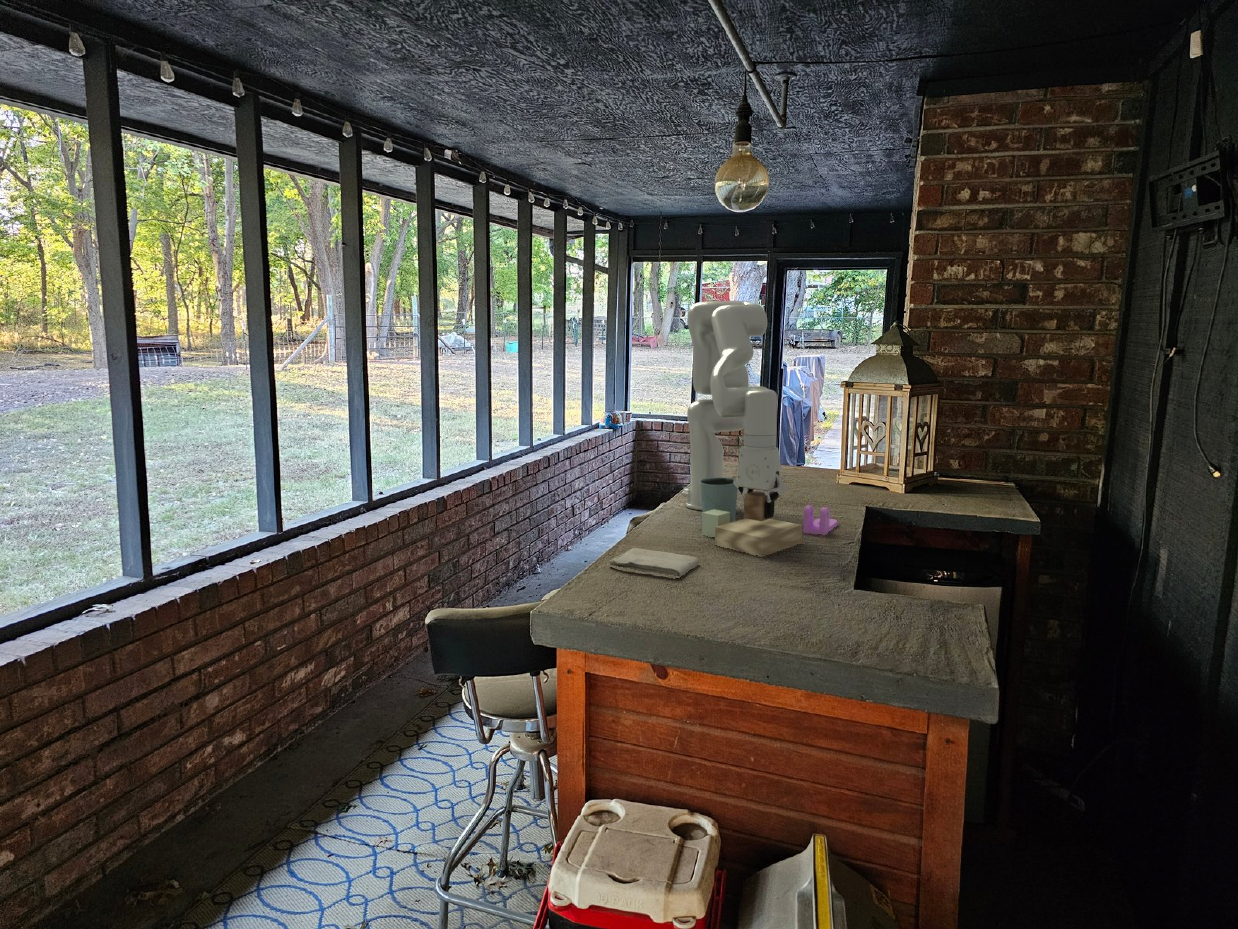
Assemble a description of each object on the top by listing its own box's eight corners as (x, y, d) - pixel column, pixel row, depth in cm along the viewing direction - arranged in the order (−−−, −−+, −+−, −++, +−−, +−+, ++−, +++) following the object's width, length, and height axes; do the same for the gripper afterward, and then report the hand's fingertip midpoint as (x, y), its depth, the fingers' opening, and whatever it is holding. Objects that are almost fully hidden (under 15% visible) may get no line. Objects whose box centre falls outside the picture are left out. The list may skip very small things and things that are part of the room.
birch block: (715, 547, 189) (715, 527, 188) (755, 534, 199) (755, 515, 199) (762, 558, 179) (762, 537, 178) (801, 544, 189) (802, 525, 189)
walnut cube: (744, 518, 188) (744, 493, 187) (756, 514, 191) (756, 490, 190) (761, 521, 184) (761, 496, 183) (773, 517, 188) (773, 493, 187)
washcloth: (630, 557, 182) (629, 544, 181) (701, 566, 174) (701, 553, 173) (605, 571, 171) (605, 557, 171) (680, 582, 163) (680, 568, 163)
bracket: (824, 536, 196) (825, 509, 195) (803, 533, 199) (803, 506, 198) (839, 524, 207) (840, 499, 206) (818, 522, 210) (819, 497, 209)
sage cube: (702, 535, 198) (702, 512, 197) (714, 531, 201) (714, 509, 200) (717, 539, 195) (717, 515, 193) (729, 535, 198) (729, 512, 197)
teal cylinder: (742, 521, 211) (742, 478, 209) (731, 530, 202) (731, 485, 200) (706, 518, 215) (706, 476, 213) (694, 527, 206) (694, 483, 204)
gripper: (721, 440, 188) (721, 513, 191) (781, 446, 176) (780, 524, 179) (740, 436, 193) (739, 508, 196) (799, 442, 181) (797, 518, 184)
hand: (758, 515), depth 188 cm, fingers closed on walnut cube, 5 cm apart
